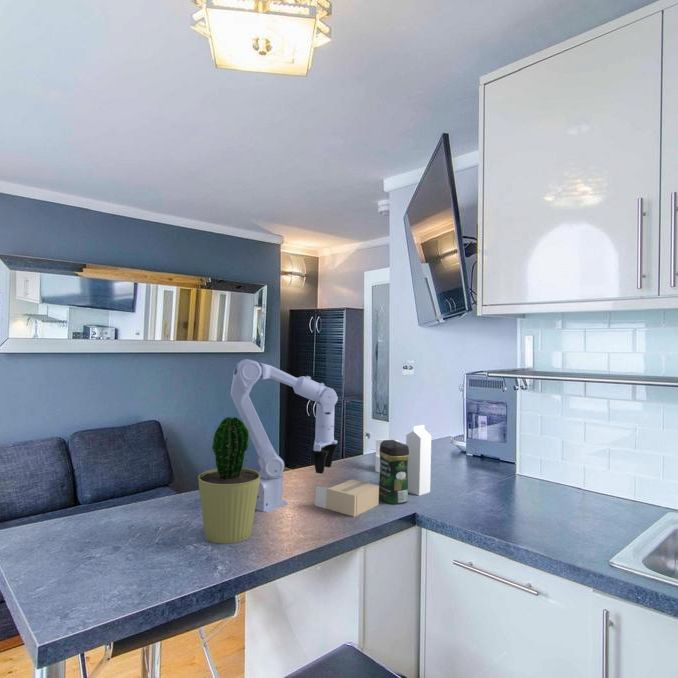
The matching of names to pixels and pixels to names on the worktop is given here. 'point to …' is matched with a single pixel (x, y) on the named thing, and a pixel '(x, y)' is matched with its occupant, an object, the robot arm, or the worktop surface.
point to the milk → (419, 460)
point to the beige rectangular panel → (335, 500)
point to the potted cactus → (229, 486)
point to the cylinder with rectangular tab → (377, 463)
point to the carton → (361, 494)
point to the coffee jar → (393, 472)
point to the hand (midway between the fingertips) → (323, 469)
